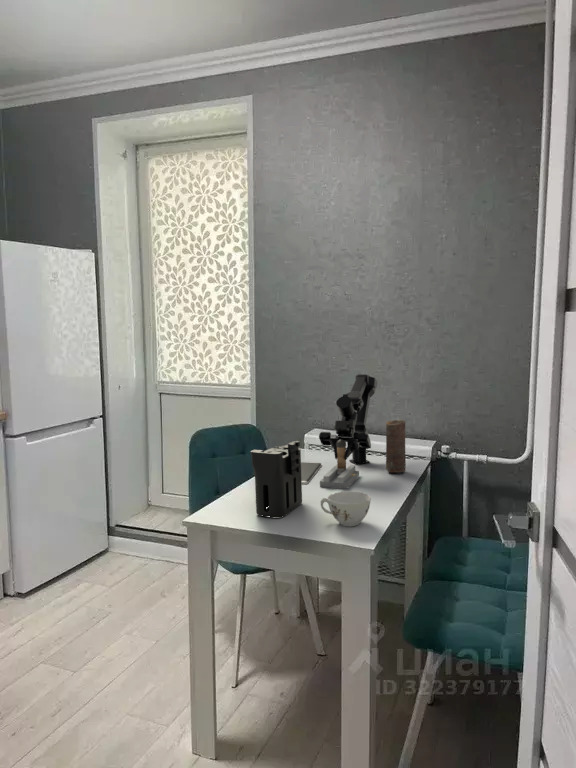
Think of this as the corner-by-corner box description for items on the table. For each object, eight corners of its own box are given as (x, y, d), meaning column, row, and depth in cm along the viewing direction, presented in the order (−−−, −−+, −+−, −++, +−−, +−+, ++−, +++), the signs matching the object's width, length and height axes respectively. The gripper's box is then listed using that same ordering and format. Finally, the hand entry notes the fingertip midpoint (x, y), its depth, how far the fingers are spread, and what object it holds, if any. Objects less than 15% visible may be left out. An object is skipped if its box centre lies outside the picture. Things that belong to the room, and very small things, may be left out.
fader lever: (338, 472, 217) (337, 438, 215) (347, 472, 216) (347, 438, 214) (335, 474, 214) (335, 440, 212) (345, 475, 212) (344, 440, 211)
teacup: (375, 518, 173) (375, 492, 172) (365, 533, 162) (364, 505, 161) (327, 513, 179) (327, 488, 178) (314, 527, 167) (313, 500, 166)
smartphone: (271, 484, 214) (271, 480, 213) (290, 465, 239) (290, 461, 239) (307, 486, 210) (307, 481, 210) (321, 466, 236) (321, 462, 236)
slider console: (333, 474, 222) (333, 463, 222) (359, 475, 219) (359, 465, 218) (319, 486, 207) (319, 475, 206) (347, 488, 203) (346, 477, 202)
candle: (407, 474, 218) (406, 422, 216) (387, 475, 218) (387, 423, 216) (403, 469, 226) (403, 418, 223) (384, 470, 226) (384, 419, 223)
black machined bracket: (252, 517, 178) (249, 446, 175) (281, 497, 196) (279, 433, 194) (286, 521, 173) (284, 449, 170) (313, 501, 191) (312, 435, 189)
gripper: (319, 410, 219) (310, 445, 210) (368, 412, 212) (361, 448, 203) (326, 427, 227) (318, 461, 218) (373, 429, 220) (367, 464, 212)
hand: (340, 459), depth 213 cm, fingers closed on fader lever, 3 cm apart
